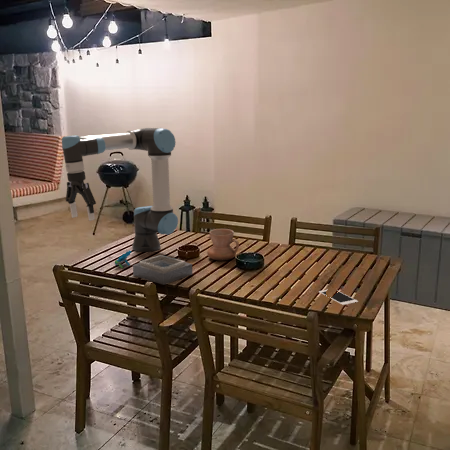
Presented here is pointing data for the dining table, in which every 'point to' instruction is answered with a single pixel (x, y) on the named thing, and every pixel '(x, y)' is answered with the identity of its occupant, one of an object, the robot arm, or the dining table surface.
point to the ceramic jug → (222, 244)
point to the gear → (123, 259)
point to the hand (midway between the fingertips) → (83, 218)
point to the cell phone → (340, 298)
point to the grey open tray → (162, 269)
